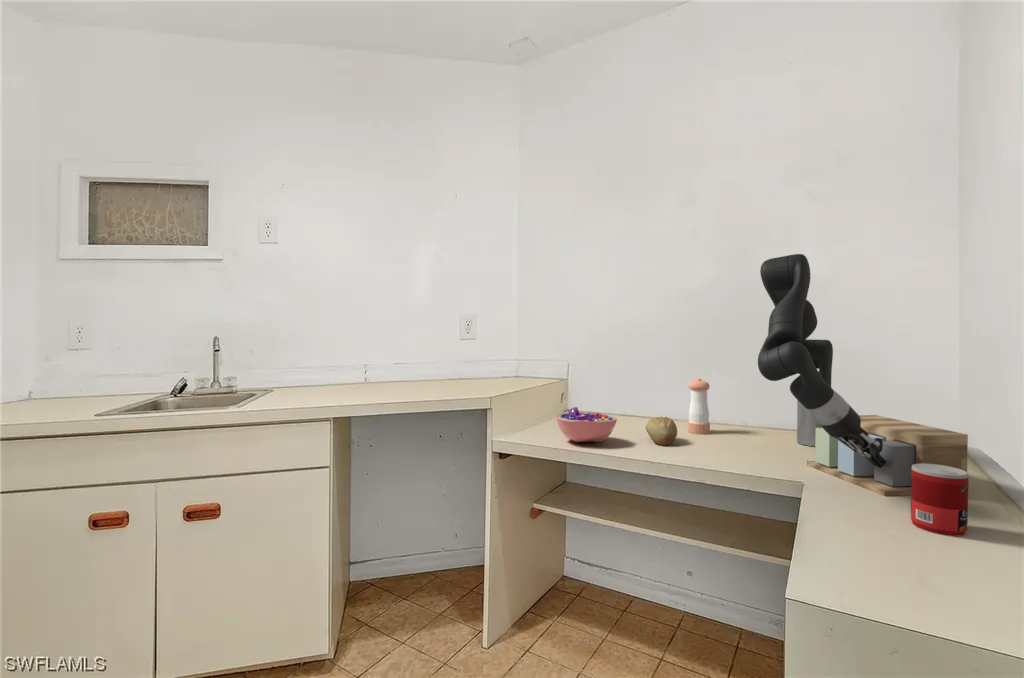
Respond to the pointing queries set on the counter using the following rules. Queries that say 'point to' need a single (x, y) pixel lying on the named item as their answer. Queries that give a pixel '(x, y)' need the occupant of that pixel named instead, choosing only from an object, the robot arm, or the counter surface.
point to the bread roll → (662, 430)
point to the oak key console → (928, 441)
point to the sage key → (826, 448)
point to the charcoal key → (896, 463)
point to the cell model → (585, 426)
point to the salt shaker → (699, 408)
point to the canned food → (939, 499)
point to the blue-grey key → (855, 460)
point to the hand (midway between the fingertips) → (880, 464)
